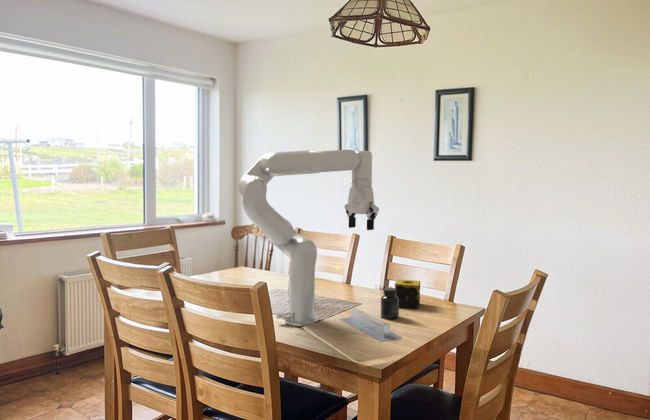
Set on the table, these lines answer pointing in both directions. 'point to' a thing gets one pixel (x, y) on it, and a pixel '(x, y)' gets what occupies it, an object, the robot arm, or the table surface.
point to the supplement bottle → (389, 304)
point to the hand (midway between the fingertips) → (361, 228)
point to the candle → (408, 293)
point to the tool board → (370, 333)
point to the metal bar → (370, 323)
